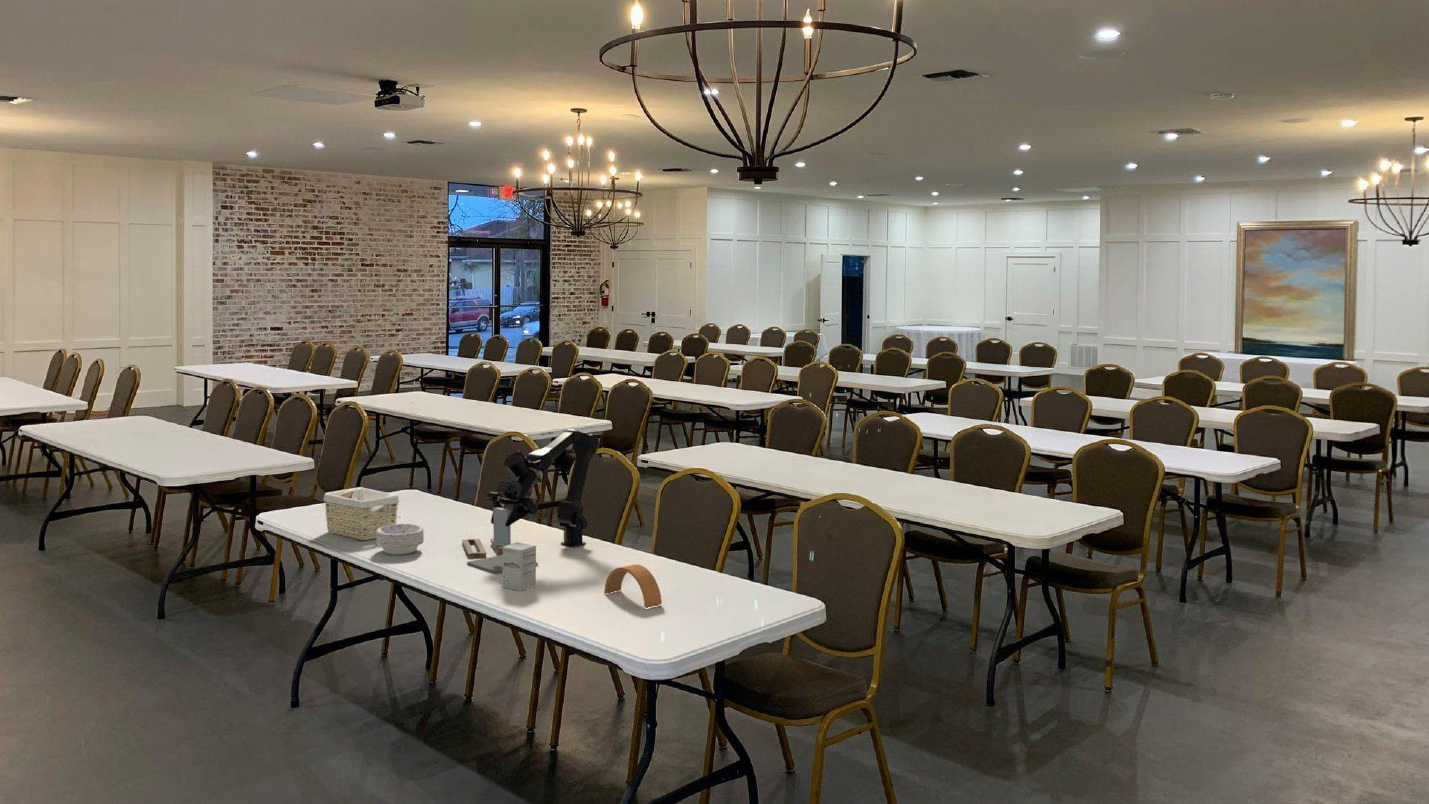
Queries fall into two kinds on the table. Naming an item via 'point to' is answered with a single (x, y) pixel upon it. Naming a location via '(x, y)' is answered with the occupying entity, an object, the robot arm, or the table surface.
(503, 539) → the tall grey pillar
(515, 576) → the supplement box
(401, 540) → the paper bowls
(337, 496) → the storage basket
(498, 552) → the frame
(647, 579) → the arch
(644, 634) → the table surface
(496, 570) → the pad
